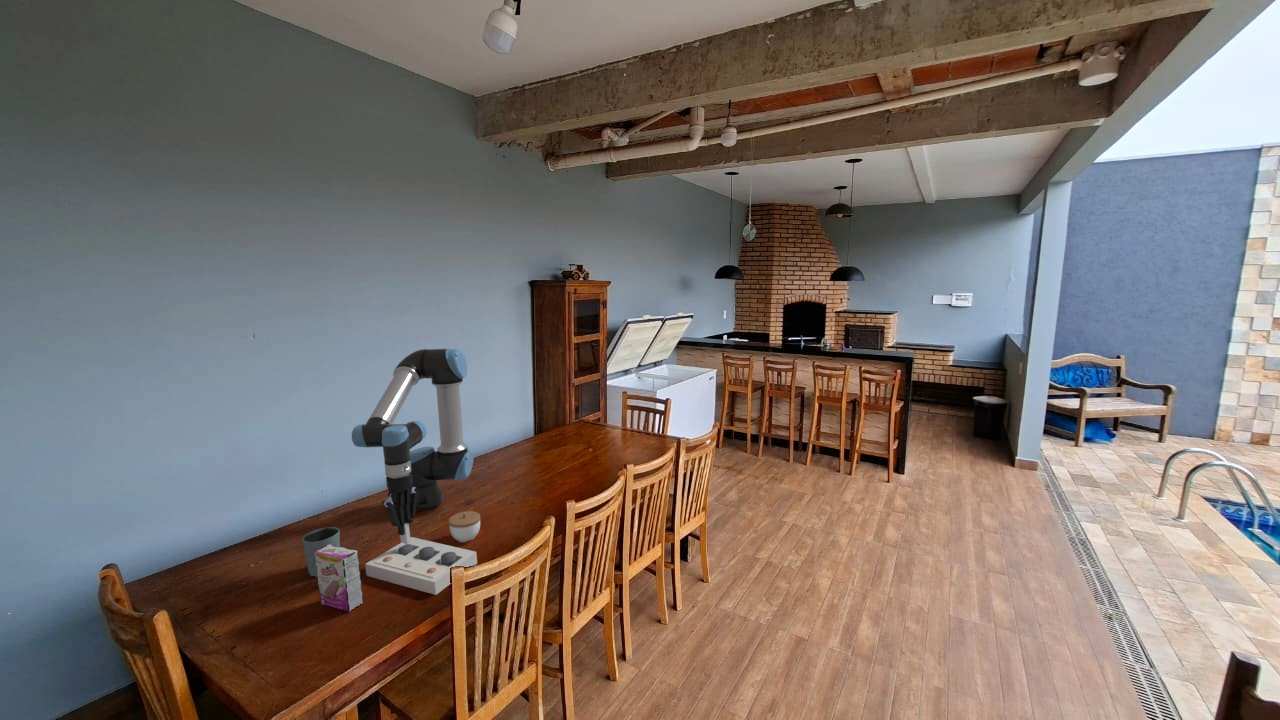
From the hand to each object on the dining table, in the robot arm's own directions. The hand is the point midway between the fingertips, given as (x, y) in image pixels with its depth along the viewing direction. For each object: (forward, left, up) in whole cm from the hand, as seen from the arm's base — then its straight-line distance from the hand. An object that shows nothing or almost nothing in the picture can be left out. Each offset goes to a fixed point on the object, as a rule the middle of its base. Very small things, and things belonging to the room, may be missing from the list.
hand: (405, 541), depth 165 cm
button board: (+2, +9, -6) cm, 11 cm away
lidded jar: (-19, +8, -7) cm, 21 cm away
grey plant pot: (+13, -21, -7) cm, 26 cm away
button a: (0, 0, -5) cm, 5 cm away
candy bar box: (+24, +1, -7) cm, 25 cm away
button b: (0, +9, -4) cm, 10 cm away
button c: (0, +18, -4) cm, 19 cm away
